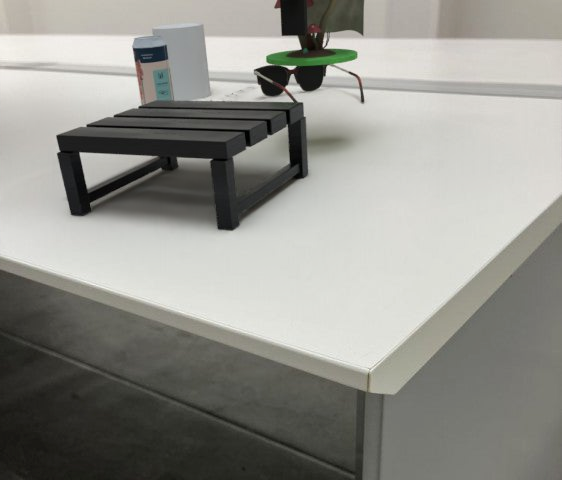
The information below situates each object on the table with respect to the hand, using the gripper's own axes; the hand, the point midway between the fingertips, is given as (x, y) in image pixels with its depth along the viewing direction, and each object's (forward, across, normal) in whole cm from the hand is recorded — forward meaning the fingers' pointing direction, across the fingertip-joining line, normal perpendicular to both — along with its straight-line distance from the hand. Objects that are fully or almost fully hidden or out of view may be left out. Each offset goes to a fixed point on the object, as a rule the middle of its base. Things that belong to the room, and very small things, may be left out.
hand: (316, 29), depth 78 cm
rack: (+13, -21, +6) cm, 25 cm away
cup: (+14, +23, +32) cm, 42 cm away
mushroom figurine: (+3, 0, 0) cm, 3 cm away
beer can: (+14, +7, +28) cm, 31 cm away
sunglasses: (+13, +29, +12) cm, 34 cm away
